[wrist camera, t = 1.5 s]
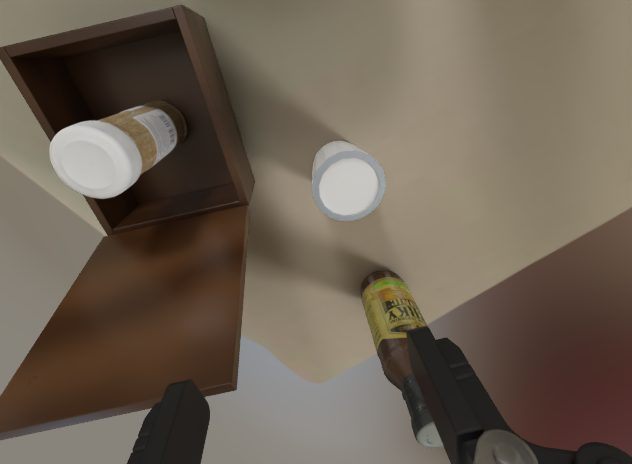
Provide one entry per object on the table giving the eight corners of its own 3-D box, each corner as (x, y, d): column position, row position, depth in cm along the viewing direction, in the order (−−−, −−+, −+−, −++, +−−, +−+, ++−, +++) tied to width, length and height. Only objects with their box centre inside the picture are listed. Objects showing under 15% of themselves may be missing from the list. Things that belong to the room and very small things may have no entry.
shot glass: (373, 185, 36) (391, 210, 30) (316, 202, 36) (322, 230, 30) (361, 126, 33) (379, 140, 27) (298, 145, 33) (302, 163, 27)
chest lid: (-28, 438, 16) (-15, 444, 16) (231, 383, 16) (236, 390, 16) (103, 236, 28) (108, 243, 29) (247, 204, 28) (250, 211, 29)
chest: (55, 51, 27) (-7, 48, 22) (203, 17, 27) (181, 4, 21) (138, 208, 35) (108, 237, 29) (255, 181, 35) (249, 206, 29)
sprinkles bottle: (135, 97, 29) (34, 122, 17) (186, 102, 30) (122, 129, 18) (143, 147, 31) (57, 198, 19) (191, 151, 32) (136, 203, 20)
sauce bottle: (411, 274, 43) (498, 420, 25) (389, 308, 45) (455, 461, 28) (369, 261, 41) (432, 408, 24) (349, 297, 44) (393, 452, 26)
